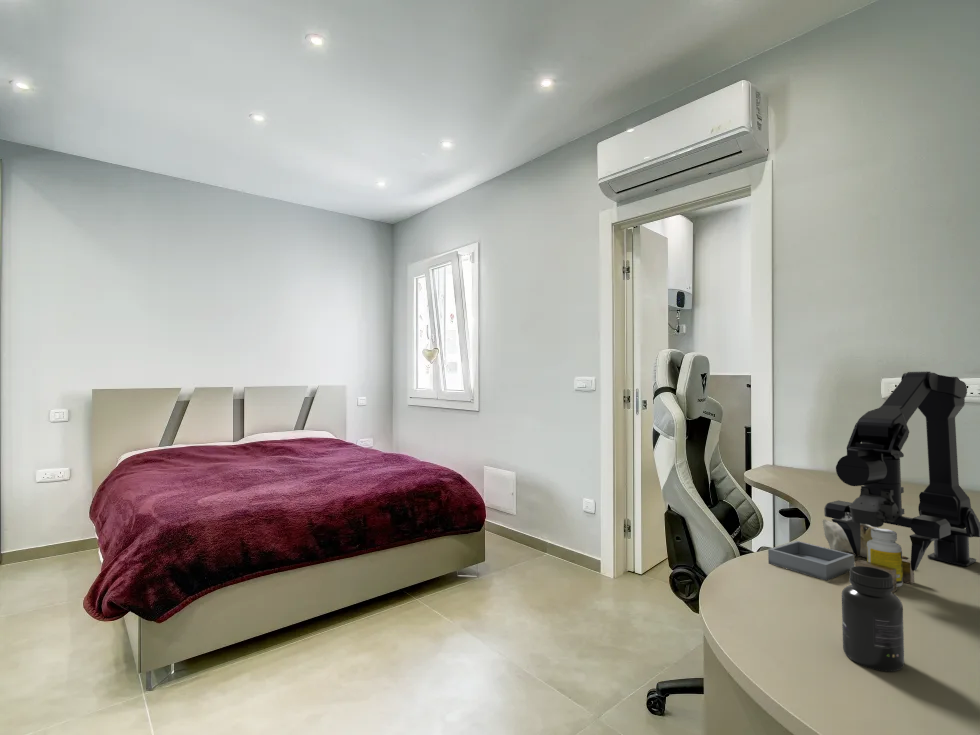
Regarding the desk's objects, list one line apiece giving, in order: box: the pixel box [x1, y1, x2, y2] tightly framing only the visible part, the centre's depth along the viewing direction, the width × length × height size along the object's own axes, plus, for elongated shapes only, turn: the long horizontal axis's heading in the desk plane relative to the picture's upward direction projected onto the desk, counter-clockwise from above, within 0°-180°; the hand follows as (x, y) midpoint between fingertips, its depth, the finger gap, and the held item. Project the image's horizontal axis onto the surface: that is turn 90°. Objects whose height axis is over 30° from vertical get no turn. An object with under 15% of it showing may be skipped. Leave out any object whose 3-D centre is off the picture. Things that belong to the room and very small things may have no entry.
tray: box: [767, 540, 855, 581], centre depth 107 cm, size 11×11×3 cm
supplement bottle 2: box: [841, 566, 905, 673], centre depth 70 cm, size 7×7×12 cm
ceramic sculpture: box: [821, 518, 910, 560], centre depth 114 cm, size 11×9×15 cm
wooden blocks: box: [854, 559, 915, 594], centre depth 98 cm, size 9×6×4 cm, turn 121°
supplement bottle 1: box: [866, 527, 904, 588], centre depth 98 cm, size 5×5×10 cm
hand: (884, 563), depth 98 cm, fingers open, 9 cm apart
